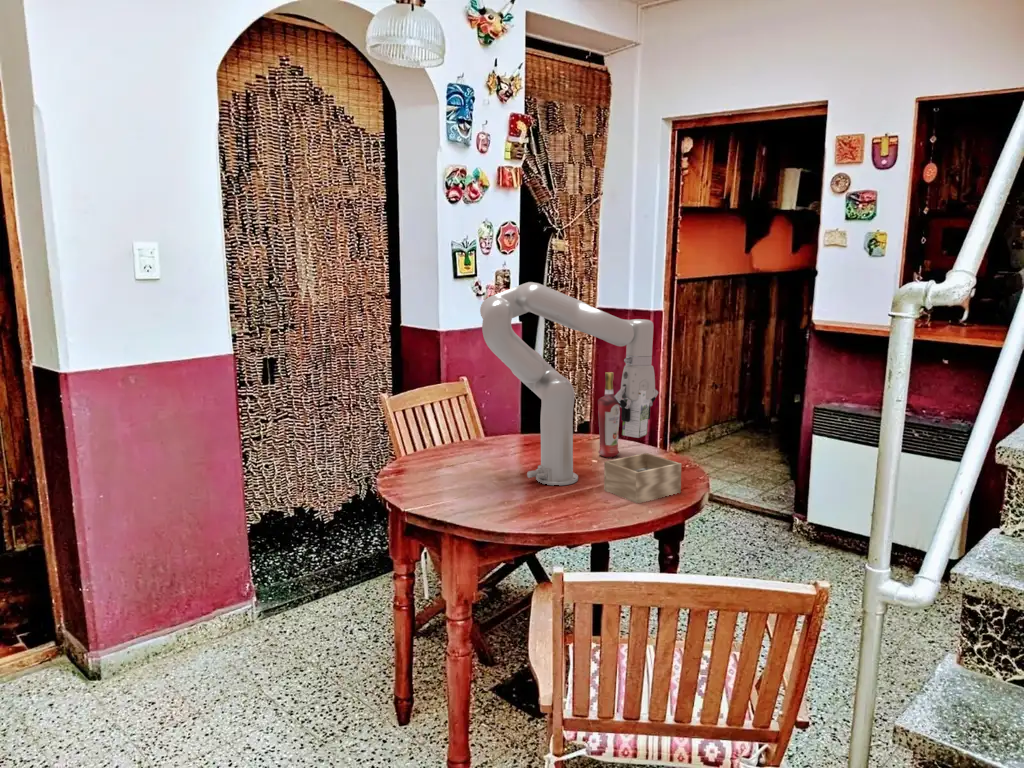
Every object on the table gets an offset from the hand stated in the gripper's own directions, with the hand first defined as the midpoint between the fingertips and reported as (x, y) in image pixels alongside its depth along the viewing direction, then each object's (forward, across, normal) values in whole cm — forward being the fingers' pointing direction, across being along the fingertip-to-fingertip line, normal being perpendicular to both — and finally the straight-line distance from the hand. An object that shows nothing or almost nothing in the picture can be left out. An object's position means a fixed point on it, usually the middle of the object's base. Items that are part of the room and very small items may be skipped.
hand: (635, 419), depth 223 cm
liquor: (+18, +8, +21) cm, 29 cm away
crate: (+17, -9, -14) cm, 24 cm away
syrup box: (+5, 0, 0) cm, 5 cm away
